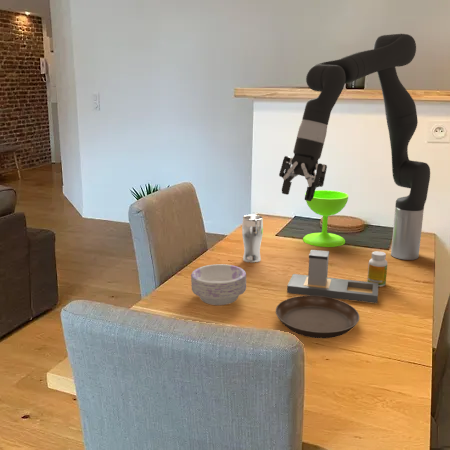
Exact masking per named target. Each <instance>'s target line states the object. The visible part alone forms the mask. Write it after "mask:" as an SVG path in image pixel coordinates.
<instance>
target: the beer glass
mask: <svg viewBox="0 0 450 450" xmlns="http://www.w3.org/2000/svg"><path fill="white" fill-rule="evenodd" d="M263 218H264V217H263V216H262V215H258V214H248V215H247V214H246V215H244V216H242V225H241V226H242V229H241V231H242V232H241V234H242V240H243V241H242V242H243V250H244V251H243V252H244V253H243V255H242V261H243V262H245V263H249V262H250V263H251V264H255V262H256V263H259V262H261V260H262V258H261V252H260V251H261V244H262V240H263V235H264V234H263V233H264V222H263V221H264V220H263Z"/></svg>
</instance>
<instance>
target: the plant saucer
mask: <svg viewBox="0 0 450 450" xmlns="http://www.w3.org/2000/svg"><path fill="white" fill-rule="evenodd" d="M275 314H276V316H277V319H278V320H279V321H280V323H282V325H283V326H285V328H287V329H288V330H289V331H290V332H292V333H295V334H297V335H300V336H301V337H305V338H306V337H307V338H311V339H332V338H337V337H340V336H342V335H346V334H347V333H349V332H350V331H352V330H353V329H354V328H355V326H357V324H358V322H359V321H360V314H359V312H358V310H356V308H355V307H353V306H352V305H350V304H349V303H347V302H345V301H342V300H341V299H335V298H329V297H323V296H310V295H301V296H300V295H299V296H293V297H290V298H289V297H288V298H287V299H285V300H283V301H281V302H280V303H278V305H277V306H276V308H275Z"/></svg>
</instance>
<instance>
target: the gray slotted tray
mask: <svg viewBox="0 0 450 450" xmlns="http://www.w3.org/2000/svg"><path fill="white" fill-rule="evenodd" d="M329 256H330V251H329V250H320V249H319V250H318V249H317V250H316V249H311V250H310V252H309V253H308V271H307V274H308V275H305V274H297V273H293V274H292V276H291V277H290V280H288V281H289V282H288V283H287V285H286V286H287V287H286V288H287V290H286V293H287V294H294V295H301V296H323V297H329V298H333V299H337V300H345V301H354V302H364V303H371V304H378V299H379V287H378V283H374V282H367V281H363V280H362V281H361V280H355V279H354V280H352V279H344V278H335V277H328V276H329V275H328V272H329V271H328V270H329Z"/></svg>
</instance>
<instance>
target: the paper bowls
mask: <svg viewBox="0 0 450 450" xmlns="http://www.w3.org/2000/svg"><path fill="white" fill-rule="evenodd" d="M190 279H191V280H190V282H191V283H190V286H191V291H192V293H193V294H194V295H195V296H197V297H199V299H200V300H201V301H202V302H203V303H205V304H208V305H211V306H212V305H213V306H225V305H226V306H227V305H230V304H232V303H234V302H235V301H237V299H238V298H239V297H240V296H241V295H242V294H244V293H245V292H246V290H247V273H246V271H245V270H244V269H243V268H242V267H240V266H236V265H233V264H226V263H225V264H224V263H223V264H222V263H220V264H217V263H215V264H207V265H204V266H200V267H197V268H195V269H194V270H193V271H192V272H191V275H190Z"/></svg>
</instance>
